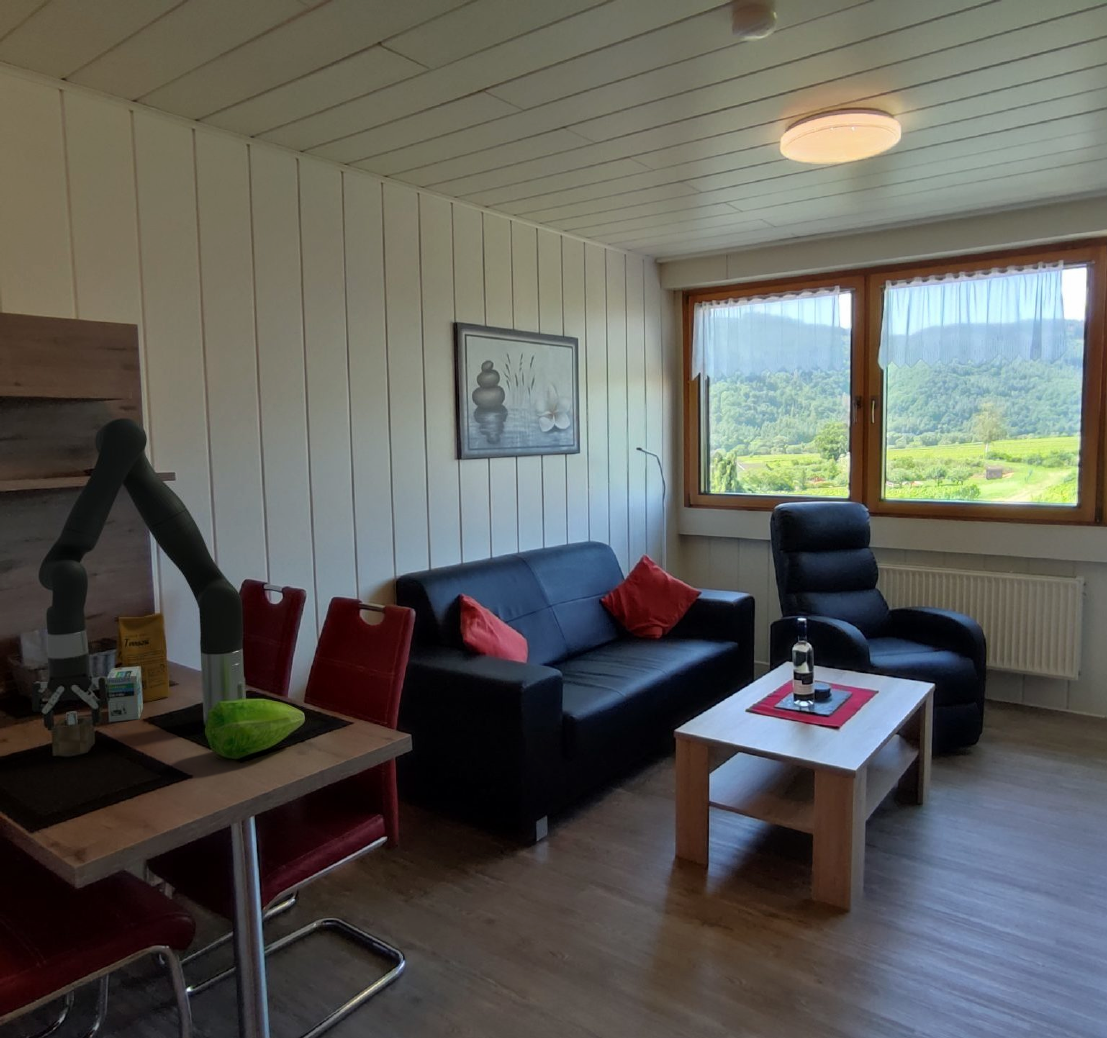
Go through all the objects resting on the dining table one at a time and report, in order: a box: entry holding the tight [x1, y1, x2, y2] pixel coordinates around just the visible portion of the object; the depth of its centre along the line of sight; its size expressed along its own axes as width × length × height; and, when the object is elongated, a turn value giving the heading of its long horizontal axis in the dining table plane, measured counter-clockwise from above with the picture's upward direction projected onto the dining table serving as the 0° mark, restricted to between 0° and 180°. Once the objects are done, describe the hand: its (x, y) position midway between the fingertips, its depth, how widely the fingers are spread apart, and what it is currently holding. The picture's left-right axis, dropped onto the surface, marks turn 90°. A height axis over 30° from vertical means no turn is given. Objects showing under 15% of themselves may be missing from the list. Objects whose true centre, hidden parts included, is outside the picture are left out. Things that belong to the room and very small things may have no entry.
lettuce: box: [204, 698, 306, 760], centre depth 176 cm, size 14×20×12 cm
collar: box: [50, 715, 96, 757], centre depth 178 cm, size 6×6×6 cm
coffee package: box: [114, 612, 170, 703], centre depth 216 cm, size 10×12×22 cm
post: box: [57, 710, 91, 758], centre depth 178 cm, size 6×6×9 cm
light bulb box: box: [107, 666, 144, 723], centre depth 203 cm, size 11×7×11 cm, turn 22°
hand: (73, 727), depth 178 cm, fingers open, 8 cm apart
